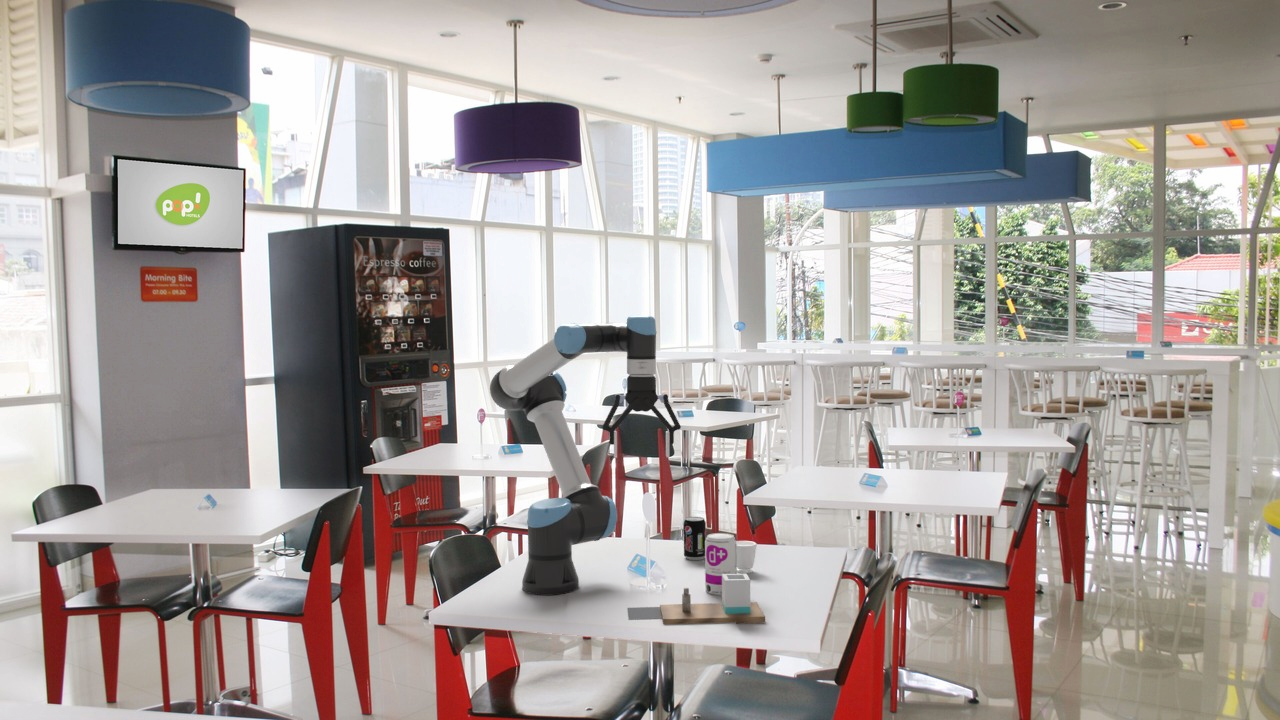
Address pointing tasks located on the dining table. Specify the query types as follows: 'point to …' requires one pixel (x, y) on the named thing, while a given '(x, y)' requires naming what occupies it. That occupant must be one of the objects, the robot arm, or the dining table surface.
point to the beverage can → (694, 538)
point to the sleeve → (735, 593)
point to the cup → (745, 556)
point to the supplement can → (719, 560)
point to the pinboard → (706, 613)
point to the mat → (644, 613)
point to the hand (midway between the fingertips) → (641, 457)
